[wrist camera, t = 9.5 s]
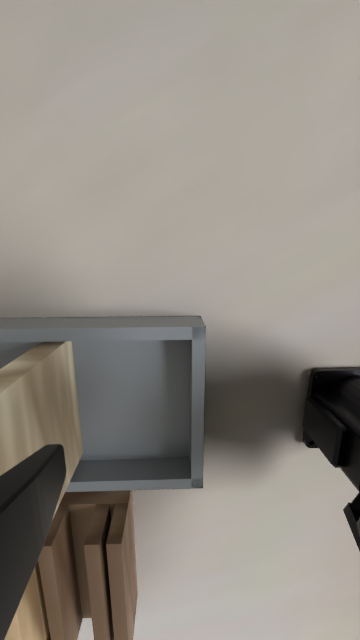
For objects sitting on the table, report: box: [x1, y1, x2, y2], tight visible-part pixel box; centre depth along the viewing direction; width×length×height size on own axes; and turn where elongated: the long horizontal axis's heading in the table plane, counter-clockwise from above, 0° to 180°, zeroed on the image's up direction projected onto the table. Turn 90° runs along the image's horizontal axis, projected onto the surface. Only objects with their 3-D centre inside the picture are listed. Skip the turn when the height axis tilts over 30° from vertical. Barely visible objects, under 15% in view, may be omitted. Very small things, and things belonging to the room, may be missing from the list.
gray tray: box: [0, 316, 206, 492], centre depth 18 cm, size 19×12×3 cm, turn 90°
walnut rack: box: [38, 490, 137, 640], centre depth 21 cm, size 12×12×4 cm
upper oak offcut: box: [4, 570, 45, 640], centre depth 18 cm, size 4×9×2 cm, turn 0°
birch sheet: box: [0, 341, 83, 520], centre depth 14 cm, size 2×9×10 cm, turn 0°
